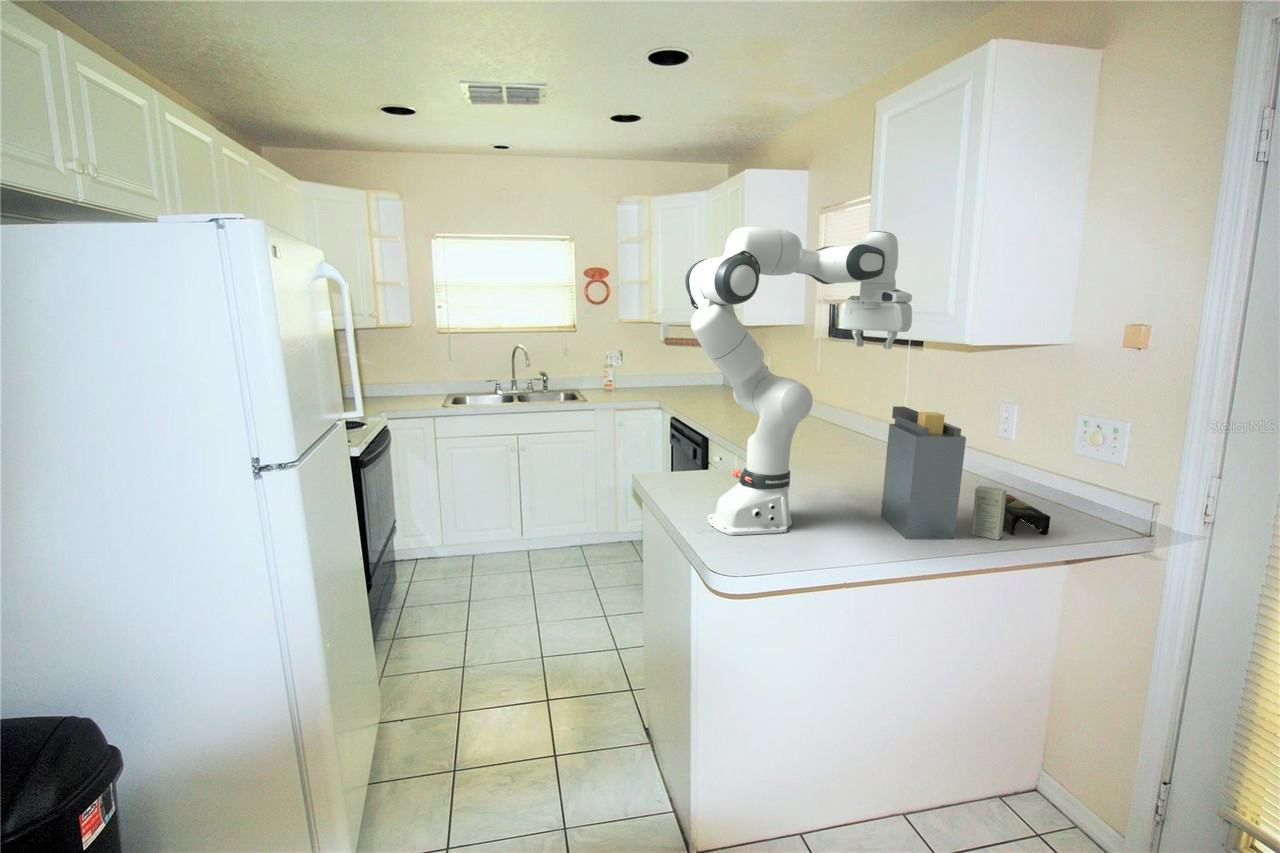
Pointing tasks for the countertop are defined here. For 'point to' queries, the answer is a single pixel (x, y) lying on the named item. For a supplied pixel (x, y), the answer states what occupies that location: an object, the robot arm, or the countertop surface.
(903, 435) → the grey tall box
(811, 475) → the countertop surface
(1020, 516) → the juice carton
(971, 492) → the countertop surface
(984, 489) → the skincare box
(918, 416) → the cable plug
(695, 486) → the countertop surface
